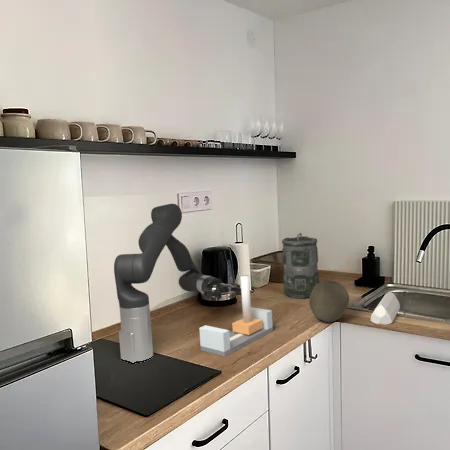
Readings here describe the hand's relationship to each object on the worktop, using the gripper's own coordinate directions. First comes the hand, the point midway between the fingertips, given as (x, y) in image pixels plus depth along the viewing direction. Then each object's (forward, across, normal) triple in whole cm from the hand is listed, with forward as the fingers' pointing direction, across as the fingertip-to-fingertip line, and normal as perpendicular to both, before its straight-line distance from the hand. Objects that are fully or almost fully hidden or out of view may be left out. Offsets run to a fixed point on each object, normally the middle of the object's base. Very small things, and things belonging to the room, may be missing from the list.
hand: (230, 293), depth 168 cm
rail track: (+12, -5, +13) cm, 18 cm away
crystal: (+25, +52, +14) cm, 60 cm away
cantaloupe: (+16, +32, +13) cm, 38 cm away
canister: (-19, +49, +13) cm, 54 cm away
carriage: (+10, 0, +11) cm, 15 cm away
